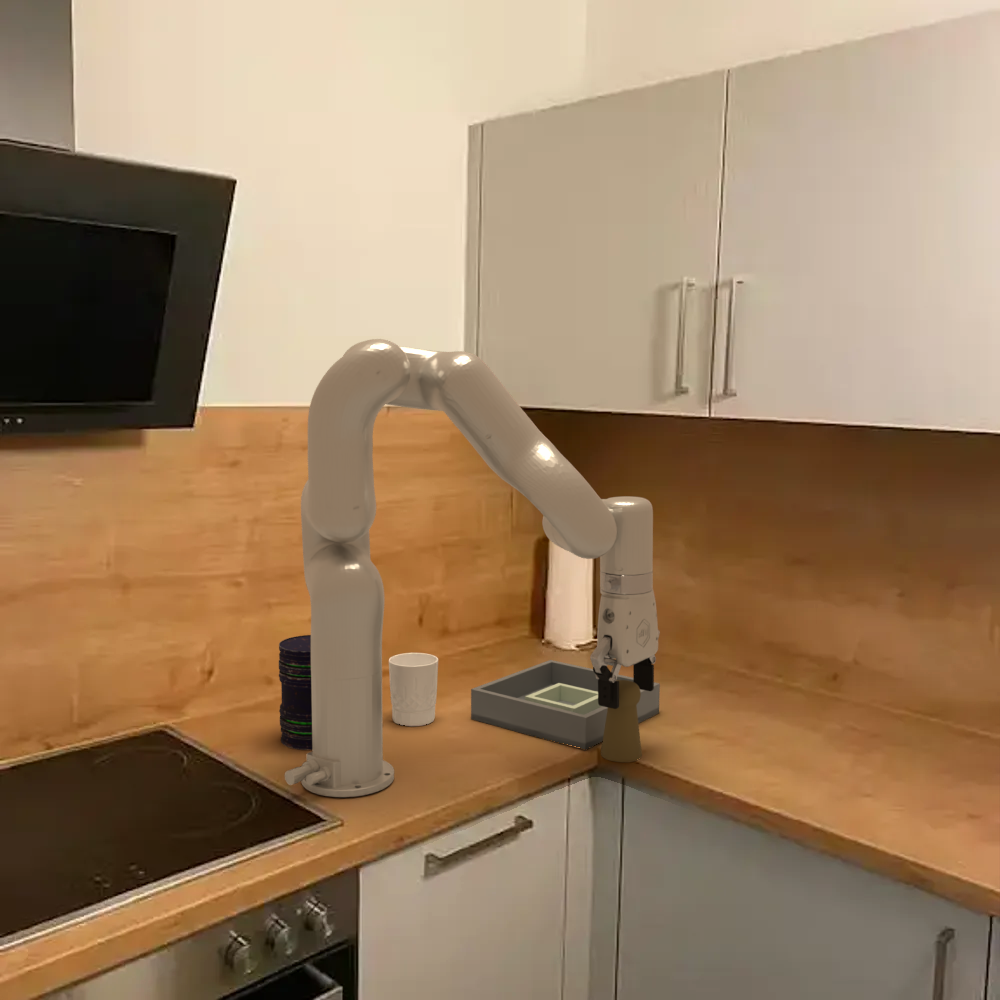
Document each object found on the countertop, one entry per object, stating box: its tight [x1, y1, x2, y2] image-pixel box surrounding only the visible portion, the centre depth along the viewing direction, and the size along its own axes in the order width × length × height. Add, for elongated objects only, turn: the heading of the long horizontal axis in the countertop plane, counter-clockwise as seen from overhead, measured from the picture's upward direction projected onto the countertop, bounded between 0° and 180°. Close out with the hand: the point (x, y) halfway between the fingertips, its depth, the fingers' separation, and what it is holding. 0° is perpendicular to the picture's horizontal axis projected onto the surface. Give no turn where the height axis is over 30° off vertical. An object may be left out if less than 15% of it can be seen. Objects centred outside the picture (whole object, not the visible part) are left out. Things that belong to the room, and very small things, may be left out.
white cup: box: [388, 652, 439, 727], centre depth 167 cm, size 8×8×10 cm
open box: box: [470, 659, 661, 751], centre depth 170 cm, size 22×22×5 cm
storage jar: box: [278, 634, 312, 751], centre depth 158 cm, size 10×10×15 cm
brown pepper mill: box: [600, 680, 643, 763], centre depth 152 cm, size 6×6×11 cm
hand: (626, 697), depth 152 cm, fingers open, 9 cm apart
